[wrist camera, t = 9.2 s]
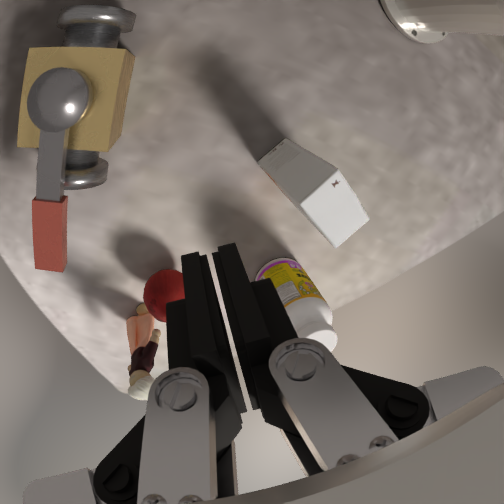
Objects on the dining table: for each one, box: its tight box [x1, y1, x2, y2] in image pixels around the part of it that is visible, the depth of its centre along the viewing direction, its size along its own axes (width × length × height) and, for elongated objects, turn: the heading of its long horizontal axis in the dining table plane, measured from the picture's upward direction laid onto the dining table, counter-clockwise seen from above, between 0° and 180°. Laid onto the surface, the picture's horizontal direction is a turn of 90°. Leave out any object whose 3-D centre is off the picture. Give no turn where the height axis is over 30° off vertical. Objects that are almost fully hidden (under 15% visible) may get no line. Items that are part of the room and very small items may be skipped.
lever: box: [27, 67, 93, 272], centre depth 20 cm, size 16×5×2 cm, turn 164°
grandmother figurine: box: [126, 304, 161, 400], centre depth 35 cm, size 8×4×13 cm, turn 153°
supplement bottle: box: [255, 258, 337, 352], centre depth 37 cm, size 7×7×13 cm
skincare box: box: [258, 138, 370, 248], centre depth 30 cm, size 6×4×12 cm
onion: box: [143, 269, 185, 322], centre depth 35 cm, size 6×6×8 cm
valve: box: [17, 5, 136, 190], centre depth 22 cm, size 15×8×8 cm, turn 166°
